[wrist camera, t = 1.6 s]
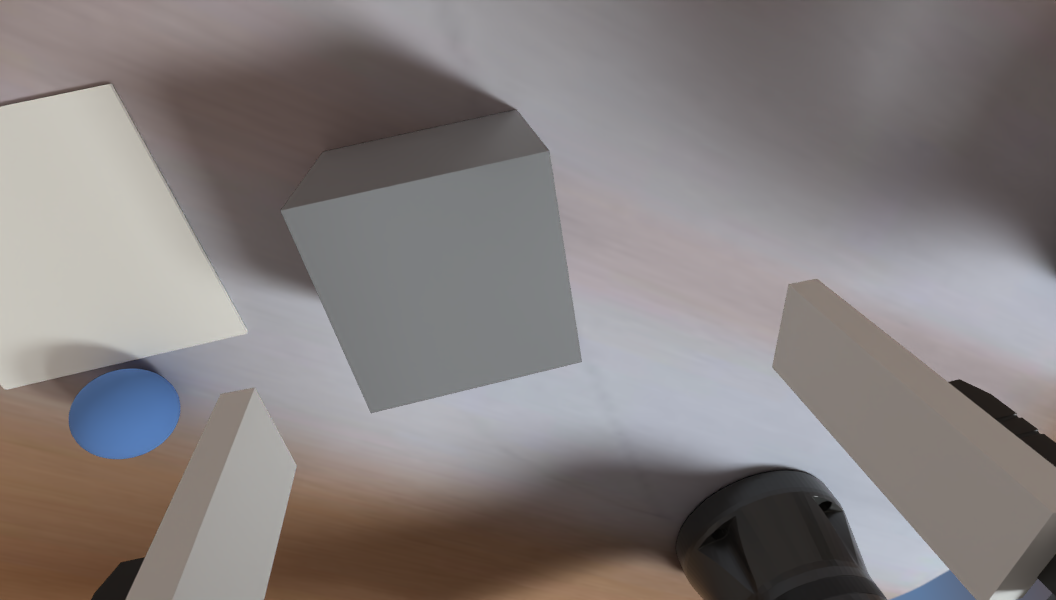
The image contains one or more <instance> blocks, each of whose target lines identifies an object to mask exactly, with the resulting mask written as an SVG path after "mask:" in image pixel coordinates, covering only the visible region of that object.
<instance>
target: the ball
mask: <svg viewBox="0 0 1056 600" xmlns="http://www.w3.org/2000/svg"><path fill="white" fill-rule="evenodd" d="M179 416H180V401H179V397H178V394H177V392H176V390H175V389H174V387H173V386H172V385H171V384H170V383H169V382H168V381H167V380H166V379H165V378H163V377H162V376H160V375H158V374H156V373H154V372H151V371H148V370H143V369H120V370H115V371H112V372H108V373H106V374H103V375H101V376H99V377H97V378H96V379H94V380H92V381H91V382H89V383H88V384H87V385H86V386H85V387H84V388H83V389H82V390H81V391H80V392H79V393H78V395H77V396H76V397H75V399H74V401H73V403H72V405H71V409H70V412H69V427H70V431H71V434H72V435H73V437H74V439H75V440H76V442H77V443H78V444H79V445H80V446H81V447H82V448H83V449H85V450H86V451H88V452H90V453H91V454H94V455H96V456H99V457H103V458H109V459H126V458H132V457H136V456H139V455H143V454H145V453H147V452H149V451H151V450H153V449H155V448H156V447H158V446H159V445H160V444H162V443H163V442H164V441H165V440H166V439H167V438H168V437H169V436H170V434H171V433H172V432H173V430H174V429H175V427H176V425H177V422H178V420H179Z"/></svg>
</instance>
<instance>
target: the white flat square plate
mask: <svg viewBox="0 0 1056 600" xmlns="http://www.w3.org/2000/svg"><path fill="white" fill-rule="evenodd" d="M247 333H248V330H247V329H246V327H245V325H244V323H243V321H242V319H241V318H240V316H239V314H238V312H237V310H236V309H235V307H234V305H233V303H232V301H231V299H230V298H229V296H228V294H227V292H226V290H225V289H224V287H223V285H222V283H221V281H220V279H219V278H218V276H217V274H216V272H215V270H214V269H213V267H212V265H211V263H210V261H209V259H208V258H207V256H206V254H205V252H204V250H203V249H202V247H201V245H200V243H199V241H198V239H197V238H196V236H195V234H194V232H193V230H192V229H191V227H190V225H189V223H188V221H187V220H186V218H185V216H184V214H183V212H182V210H181V209H180V207H179V205H178V203H177V201H176V200H175V198H174V196H173V194H172V192H171V190H170V189H169V187H168V185H167V183H166V181H165V180H164V178H163V176H162V174H161V172H160V170H159V169H158V167H157V165H156V163H155V161H154V160H153V158H152V156H151V154H150V152H149V150H148V149H147V147H146V145H145V143H144V141H143V140H142V138H141V136H140V134H139V132H138V130H137V129H136V127H135V125H134V123H133V121H132V120H131V118H130V116H129V114H128V112H127V110H126V109H125V107H124V105H123V103H122V101H121V100H120V98H119V96H118V94H117V92H116V91H115V89H114V87H113V85H112V83H111V84H106V85H102V86H97V87H92V88H87V89H82V90H77V91H73V92H68V93H63V94H58V95H53V96H49V97H44V98H39V99H34V100H29V101H24V102H20V103H15V104H10V105H5V106H0V385H1V386H2V387H3V388H4V389H5V390H7V389H12V388H16V387H20V386H25V385H29V384H33V383H38V382H42V381H46V380H50V379H55V378H59V377H63V376H68V375H72V374H76V373H80V372H85V371H89V370H93V369H98V368H102V367H106V366H110V365H115V364H119V363H123V362H128V361H132V360H136V359H140V358H145V357H149V356H153V355H158V354H162V353H166V352H170V351H175V350H179V349H183V348H188V347H192V346H196V345H200V344H205V343H209V342H213V341H218V340H222V339H226V338H230V337H235V336H239V335H243V334H247Z"/></svg>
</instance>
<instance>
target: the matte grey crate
mask: <svg viewBox="0 0 1056 600" xmlns="http://www.w3.org/2000/svg"><path fill="white" fill-rule="evenodd" d="M281 213H282V215H283V217H284V220H285V222H286V224H287V226H288V229H289V231H290V233H291V235H292V238H293V240H294V242H295V244H296V247H297V249H298V251H299V253H300V256H301V258H302V260H303V262H304V264H305V267H306V269H307V271H308V273H309V276H310V278H311V280H312V282H313V285H314V287H315V289H316V291H317V294H318V296H319V298H320V300H321V303H322V305H323V307H324V309H325V311H326V314H327V316H328V318H329V320H330V323H331V325H332V327H333V329H334V332H335V334H336V336H337V338H338V341H339V343H340V345H341V347H342V350H343V352H344V354H345V356H346V359H347V361H348V363H349V365H350V367H351V370H352V372H353V374H354V376H355V379H356V381H357V383H358V385H359V388H360V390H361V392H362V394H363V397H364V399H365V401H366V403H367V406H368V408H369V410H370V412H371V413H374V412H378V411H382V410H386V409H390V408H395V407H399V406H403V405H407V404H411V403H415V402H419V401H423V400H427V399H432V398H436V397H440V396H444V395H448V394H452V393H456V392H460V391H464V390H469V389H473V388H477V387H481V386H485V385H489V384H493V383H497V382H501V381H506V380H510V379H514V378H518V377H522V376H526V375H530V374H534V373H538V372H543V371H547V370H551V369H555V368H559V367H563V366H567V365H571V364H575V363H580V362H582V359H581V353H580V346H579V340H578V333H577V327H576V321H575V314H574V308H573V301H572V295H571V288H570V282H569V275H568V269H567V262H566V256H565V249H564V243H563V236H562V230H561V224H560V217H559V211H558V204H557V198H556V191H555V185H554V178H553V172H552V165H551V159H550V152H549V150H548V149H547V147H546V146H545V145H544V144H543V142H542V141H541V140H540V138H539V137H538V136H537V135H536V133H535V132H534V131H533V130H532V128H531V127H530V126H529V125H528V123H527V122H526V121H525V119H524V118H523V117H522V116H521V114H520V113H519V112H518V111H517V110H512V111H508V112H503V113H499V114H494V115H490V116H485V117H480V118H476V119H471V120H467V121H462V122H457V123H453V124H448V125H444V126H439V127H434V128H430V129H425V130H421V131H416V132H412V133H407V134H402V135H398V136H393V137H389V138H384V139H379V140H375V141H370V142H366V143H361V144H356V145H352V146H347V147H343V148H338V149H334V150H329V151H324V152H322V154H321V155H320V157H319V158H318V159H317V161H316V162H315V163H314V165H313V166H312V168H311V169H310V170H309V172H308V173H307V175H306V176H305V177H304V179H303V180H302V181H301V183H300V184H299V186H298V187H297V188H296V190H295V191H294V193H293V194H292V195H291V197H290V198H289V199H288V201H287V202H286V204H285V205H284V206H283V208H282V209H281Z"/></svg>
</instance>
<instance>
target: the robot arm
mask: <svg viewBox="0 0 1056 600" xmlns="http://www.w3.org/2000/svg"><path fill="white" fill-rule="evenodd" d="M772 367H773V369H774V370H775V371H776V372H777V373H778V374H779V375H780V377H781V378H782V379H783V380H784V381H785V382H786V383H787V385H788V386H789V387H790V388H791V389H792V390H793V391H794V393H795V394H796V395H797V396H798V397H799V398H800V399H801V401H802V402H803V403H804V404H805V405H806V406H807V407H808V409H809V410H810V411H811V412H812V413H813V414H814V415H815V416H816V418H817V419H818V420H819V421H820V422H821V423H822V424H823V426H824V427H825V428H826V429H827V430H828V431H829V432H830V434H831V435H832V436H833V437H834V438H835V439H836V440H837V442H838V443H839V444H840V445H841V446H842V447H843V448H844V450H845V451H846V452H847V453H848V454H849V455H850V456H851V457H852V459H853V460H854V461H855V462H856V463H857V464H858V465H859V467H860V468H861V469H862V470H863V471H864V472H865V473H866V475H867V476H868V477H869V478H870V479H871V480H872V481H873V483H874V484H875V485H876V486H877V487H878V488H879V489H880V491H881V492H882V493H883V494H884V495H885V496H886V497H887V499H888V500H889V501H890V502H891V503H892V504H893V505H894V506H895V508H896V509H897V510H898V511H899V512H900V513H901V514H902V516H903V517H904V518H905V519H906V520H907V521H908V522H909V524H910V525H911V526H912V527H913V528H914V529H915V530H916V532H917V533H918V534H919V535H920V536H921V537H922V538H923V540H924V541H925V542H926V543H927V544H928V545H929V546H930V547H931V549H932V550H933V551H934V552H935V553H936V554H937V555H938V557H939V558H940V559H941V560H942V561H943V562H944V563H945V565H946V566H947V567H948V568H949V569H950V570H951V571H952V573H953V574H954V575H955V576H956V577H957V578H958V579H959V581H961V583H962V584H963V585H964V586H965V587H966V589H967V590H968V591H969V592H970V593H971V594H972V595H973V596H974V598H975V599H976V600H1015V599H1018V598H1022V597H1023V596H1024V595H1025V594H1026V593H1027V591H1028V590H1029V589H1030V587H1031V586H1032V585H1033V584H1034V583H1035V581H1036V580H1037V579H1039V580H1040V581H1041V582H1042V583H1043V584H1044V585H1045V586H1046V587H1047V588H1048V589H1049V590H1050V591H1051V592H1052V595H1051V596H1050V597H1049V598H1048V599H1047V600H1056V443H1055V442H1054V441H1053V440H1051V439H1050V438H1049V437H1047V436H1046V435H1045V434H1040V433H1039V432H1038V429H1037V428H1035V427H1034V426H1033V425H1031V424H1030V423H1029V422H1027V421H1026V420H1025V419H1023V418H1018V417H1017V413H1015V412H1014V411H1013V410H1011V409H1010V408H1009V407H1007V406H1006V405H1005V404H1003V403H1002V402H1001V401H999V400H998V399H997V398H995V397H994V396H993V395H991V394H989V393H987V392H985V391H983V390H981V389H979V388H977V387H975V386H972V385H970V384H968V383H966V382H964V381H962V380H960V379H959V380H955V381H950V382H947V381H946V380H945V379H943V378H942V377H941V376H940V375H938V374H937V373H936V372H934V371H933V370H932V369H931V368H929V367H928V366H927V365H926V364H924V363H923V362H922V361H921V360H919V359H918V358H917V357H915V356H914V355H913V354H912V353H910V352H909V351H908V350H907V349H905V348H904V347H903V346H902V345H900V344H899V343H898V342H896V341H895V340H894V339H893V338H891V337H890V336H889V335H888V334H886V333H885V332H884V331H883V330H881V329H880V328H879V327H877V326H876V325H875V324H874V323H872V322H871V321H870V320H869V319H867V318H866V317H865V316H864V315H862V314H861V313H860V312H858V311H857V310H856V309H855V308H853V307H852V306H851V305H850V304H848V303H847V302H846V301H844V300H843V299H842V298H841V297H839V296H838V295H837V294H836V293H834V292H833V291H832V290H831V289H829V288H828V287H827V286H825V285H824V284H823V283H822V282H820V281H819V280H818V279H813V280H808V281H803V282H798V283H792V284H789V285H788V290H787V295H786V300H785V305H784V310H783V315H782V320H781V325H780V330H779V335H778V340H777V345H776V350H775V355H774V360H773V366H772ZM296 467H297V465H296V463H295V461H294V460H293V458H292V456H291V454H290V452H289V450H288V448H287V447H286V445H285V443H284V441H283V439H282V437H281V435H280V433H279V432H278V430H277V428H276V426H275V424H274V422H273V420H272V419H271V417H270V415H269V413H268V411H267V409H266V407H265V405H264V404H263V402H262V400H261V398H260V396H259V394H258V392H257V391H256V389H255V388H249V389H244V390H239V391H234V392H229V393H224V394H220V396H219V399H218V401H217V403H216V405H215V407H214V409H213V412H212V414H211V416H210V418H209V420H208V422H207V425H206V427H205V429H204V431H203V433H202V435H201V438H200V440H199V442H198V444H197V446H196V448H195V450H194V453H193V455H192V457H191V459H190V461H189V463H188V466H187V468H186V470H185V472H184V474H183V476H182V479H181V481H180V483H179V485H178V487H177V489H176V492H175V494H174V496H173V498H172V500H171V502H170V505H169V507H168V509H167V511H166V513H165V515H164V518H163V520H162V522H161V524H160V526H159V528H158V530H157V533H156V535H155V537H154V539H153V541H152V543H151V546H150V548H149V550H148V552H147V554H146V556H145V557H144V558H140V559H135V560H130V561H126V562H121V563H120V564H119V565H118V567H117V568H116V569H115V570H114V571H113V572H112V574H111V575H110V576H109V577H108V578H107V579H106V581H105V582H104V583H103V584H102V585H101V586H100V588H99V589H98V590H97V591H96V592H95V593H94V595H93V597H92V599H91V600H264V598H265V594H266V589H267V585H268V581H269V577H270V573H271V569H272V565H273V561H274V557H275V553H276V548H277V544H278V540H279V536H280V532H281V528H282V524H283V520H284V516H285V512H286V508H287V503H288V499H289V495H290V491H291V487H292V483H293V479H294V475H295V471H296ZM676 552H677V557H678V559H679V561H680V564H681V566H682V568H683V570H684V573H685V575H686V577H687V579H688V581H689V582H690V584H691V585H692V587H693V588H694V589H695V590H696V591H697V592H698V594H699V595H700V596H701V597H702V598H703V599H704V600H887V599H886V597H885V596H884V595H883V593H882V592H881V591H880V589H879V588H878V587H877V586H876V584H875V583H874V581H873V580H872V579H871V577H870V576H869V574H868V572H867V569H866V566H865V564H864V561H863V559H862V556H861V554H860V551H859V548H858V546H857V543H856V541H855V538H854V536H853V533H852V530H851V528H850V525H849V523H848V520H847V518H846V515H845V513H844V510H843V508H842V507H841V505H840V503H839V502H838V501H837V499H836V498H835V497H834V496H833V494H832V493H831V492H830V491H829V489H828V488H827V487H826V486H825V485H824V484H823V482H821V481H820V480H819V479H817V478H816V477H814V476H812V475H809V474H807V473H803V472H798V471H773V472H767V473H762V474H758V475H754V476H751V477H748V478H745V479H742V480H740V481H737V482H735V483H733V484H731V485H729V486H727V487H725V488H723V489H721V490H720V491H718V492H717V493H715V494H714V495H712V496H711V497H709V498H708V499H707V500H705V501H704V502H703V503H702V504H701V505H700V506H698V507H697V508H696V509H695V510H694V512H693V513H692V514H691V515H690V516H689V517H688V519H687V520H686V521H685V523H684V525H683V526H682V528H681V530H680V532H679V535H678V538H677V543H676Z"/></svg>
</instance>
